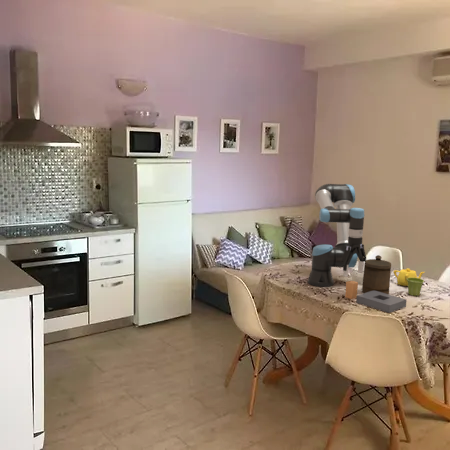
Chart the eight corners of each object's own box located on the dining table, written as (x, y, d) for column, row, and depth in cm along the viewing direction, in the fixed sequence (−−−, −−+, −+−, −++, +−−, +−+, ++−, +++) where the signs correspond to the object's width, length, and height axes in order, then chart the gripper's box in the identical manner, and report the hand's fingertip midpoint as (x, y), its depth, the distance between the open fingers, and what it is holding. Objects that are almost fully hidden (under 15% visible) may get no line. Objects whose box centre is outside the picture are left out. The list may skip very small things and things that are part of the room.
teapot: (410, 281, 322) (411, 265, 320) (423, 287, 310) (425, 270, 308) (391, 282, 318) (392, 266, 316) (404, 288, 306) (405, 272, 304)
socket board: (356, 302, 278) (356, 295, 277) (373, 297, 288) (373, 290, 288) (389, 312, 263) (389, 305, 262) (405, 306, 273) (406, 299, 273)
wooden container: (391, 292, 299) (395, 255, 295) (384, 298, 286) (387, 260, 283) (366, 287, 307) (369, 251, 303) (358, 293, 294) (361, 256, 290)
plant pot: (424, 293, 297) (425, 279, 296) (421, 298, 289) (422, 283, 288) (407, 290, 302) (408, 276, 300) (403, 295, 294) (405, 280, 292)
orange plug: (345, 297, 287) (346, 281, 285) (350, 295, 290) (351, 280, 288) (351, 299, 283) (353, 283, 282) (356, 297, 286) (358, 282, 285)
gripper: (347, 240, 270) (344, 279, 273) (374, 235, 286) (371, 272, 289) (335, 237, 275) (333, 276, 279) (363, 233, 291) (360, 269, 295)
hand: (352, 274), depth 284 cm, fingers open, 13 cm apart
